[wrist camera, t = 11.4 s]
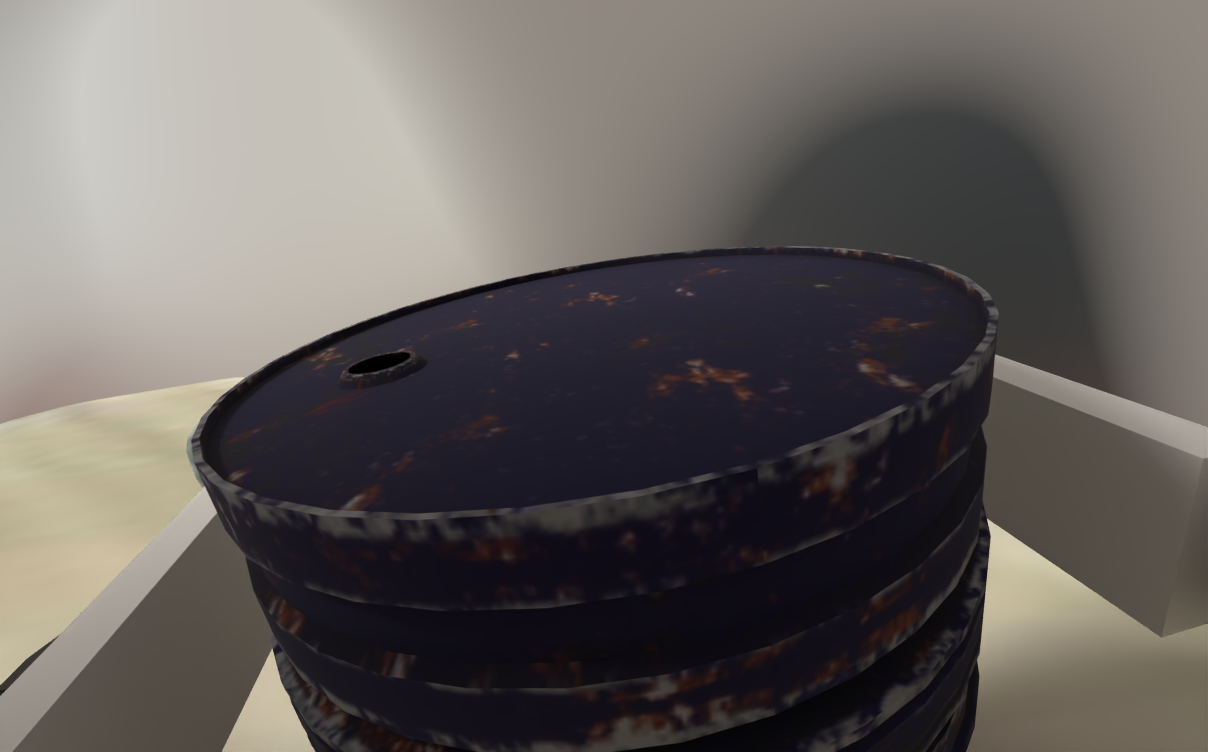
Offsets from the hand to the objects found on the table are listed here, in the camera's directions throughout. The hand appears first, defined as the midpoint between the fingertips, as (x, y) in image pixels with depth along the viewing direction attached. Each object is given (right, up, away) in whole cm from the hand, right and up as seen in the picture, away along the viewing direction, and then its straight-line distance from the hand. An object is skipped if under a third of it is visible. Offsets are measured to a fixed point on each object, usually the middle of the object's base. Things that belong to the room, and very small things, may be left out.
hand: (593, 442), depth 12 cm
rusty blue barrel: (+2, -12, +1) cm, 12 cm away
